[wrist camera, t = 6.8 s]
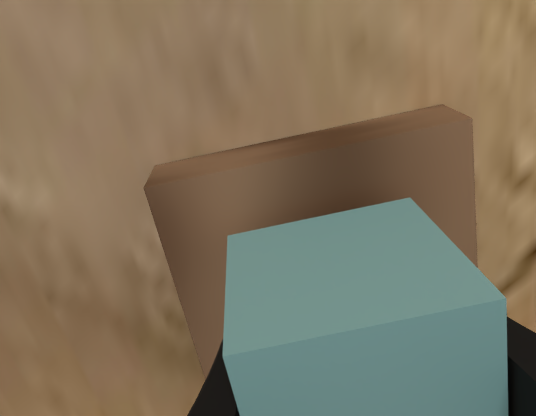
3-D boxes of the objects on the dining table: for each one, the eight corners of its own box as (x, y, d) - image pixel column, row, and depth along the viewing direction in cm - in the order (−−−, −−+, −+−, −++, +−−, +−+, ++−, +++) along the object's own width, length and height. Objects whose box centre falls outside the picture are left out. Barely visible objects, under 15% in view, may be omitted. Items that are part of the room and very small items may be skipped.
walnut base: (222, 387, 18) (221, 429, 17) (154, 165, 15) (143, 188, 13) (456, 339, 18) (481, 377, 16) (442, 104, 15) (472, 117, 13)
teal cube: (264, 379, 15) (277, 542, 10) (227, 235, 13) (222, 356, 8) (424, 346, 15) (509, 497, 10) (409, 197, 13) (506, 298, 8)
